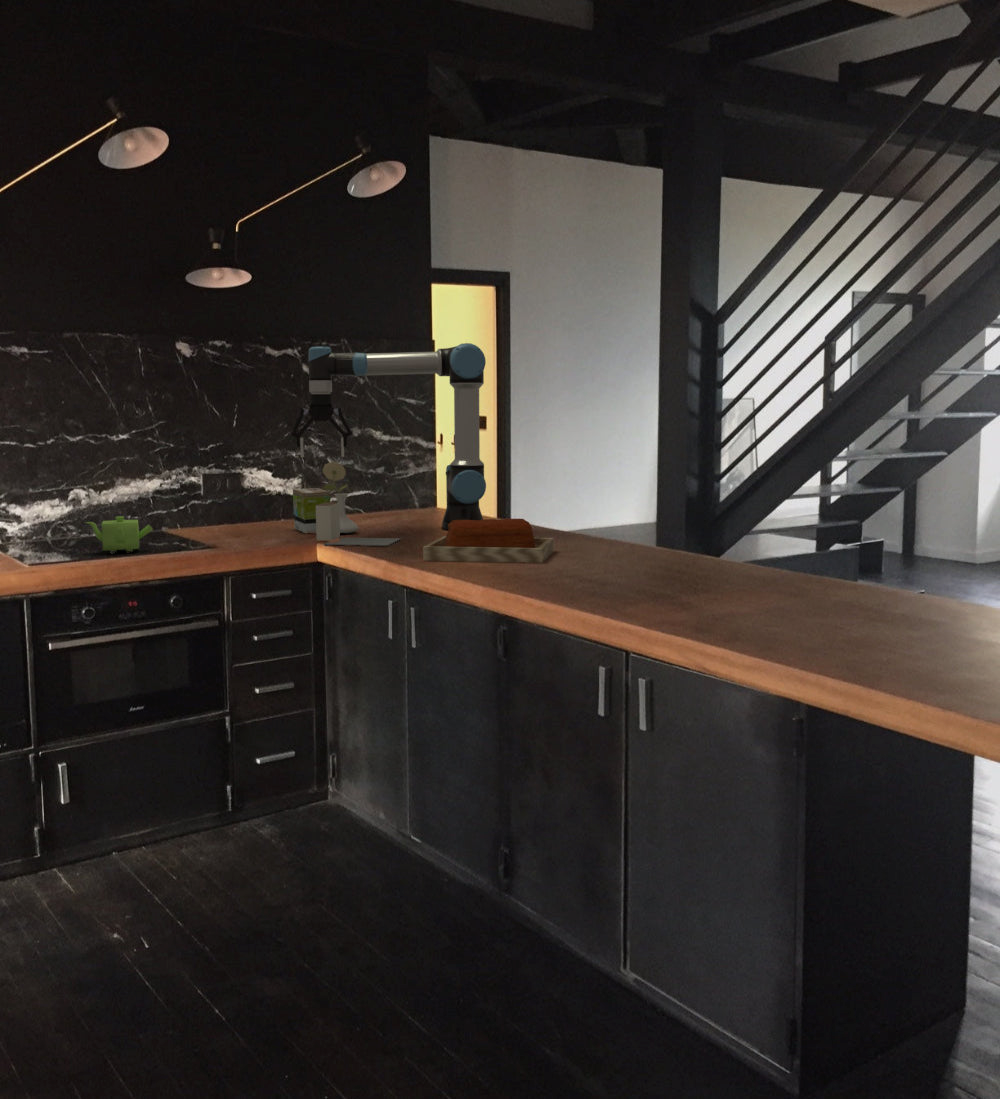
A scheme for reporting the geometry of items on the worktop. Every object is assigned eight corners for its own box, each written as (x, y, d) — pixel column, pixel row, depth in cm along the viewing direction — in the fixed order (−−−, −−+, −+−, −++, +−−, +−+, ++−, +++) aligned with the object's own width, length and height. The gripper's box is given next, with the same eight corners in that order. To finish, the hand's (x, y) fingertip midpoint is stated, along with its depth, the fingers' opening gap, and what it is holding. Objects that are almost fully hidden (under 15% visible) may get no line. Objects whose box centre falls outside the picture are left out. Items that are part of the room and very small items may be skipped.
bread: (538, 557, 336) (538, 521, 335) (448, 560, 332) (447, 523, 331) (529, 550, 351) (529, 515, 350) (443, 552, 348) (442, 518, 346)
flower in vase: (364, 532, 402) (363, 461, 398) (347, 536, 392) (345, 463, 388) (333, 530, 407) (331, 460, 404) (315, 534, 397) (313, 462, 394)
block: (340, 538, 386) (339, 502, 384) (331, 542, 377) (330, 505, 375) (325, 538, 386) (324, 502, 385) (316, 541, 378) (315, 505, 376)
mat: (400, 540, 379) (400, 538, 379) (387, 546, 363) (387, 544, 363) (340, 539, 383) (340, 537, 383) (324, 545, 367) (324, 543, 367)
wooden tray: (553, 554, 350) (553, 538, 350) (541, 566, 327) (541, 548, 326) (442, 552, 357) (442, 536, 356) (423, 563, 334) (423, 546, 333)
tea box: (293, 529, 411) (291, 488, 409) (320, 528, 415) (319, 487, 413) (304, 534, 398) (303, 492, 396) (332, 532, 402) (331, 490, 400)
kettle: (86, 553, 355) (84, 517, 353) (120, 548, 367) (118, 513, 366) (122, 556, 348) (120, 519, 347) (155, 550, 361) (153, 515, 359)
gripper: (358, 393, 387) (360, 456, 390) (284, 393, 385) (286, 456, 388) (357, 393, 380) (359, 457, 382) (281, 393, 378) (283, 458, 381)
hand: (322, 457), depth 385 cm, fingers open, 13 cm apart
